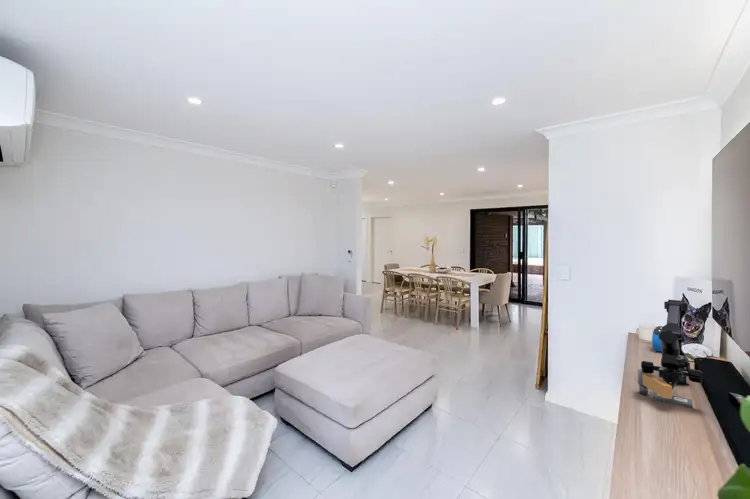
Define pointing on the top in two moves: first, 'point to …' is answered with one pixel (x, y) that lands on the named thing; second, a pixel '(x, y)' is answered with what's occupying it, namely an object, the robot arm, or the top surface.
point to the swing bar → (655, 384)
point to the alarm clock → (656, 339)
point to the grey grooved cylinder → (643, 390)
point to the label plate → (674, 400)
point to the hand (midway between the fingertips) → (670, 390)
